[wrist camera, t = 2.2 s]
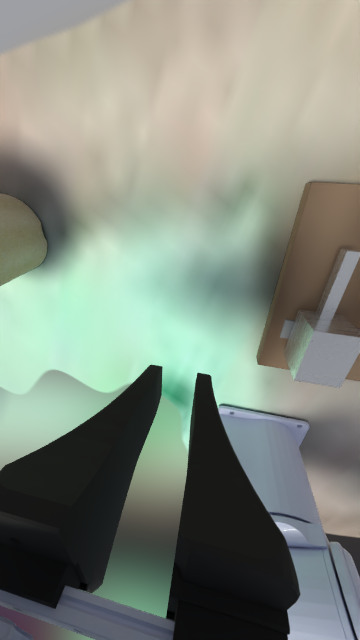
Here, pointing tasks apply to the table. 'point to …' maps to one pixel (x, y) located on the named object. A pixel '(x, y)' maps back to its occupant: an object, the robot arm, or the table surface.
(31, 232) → the flower pot
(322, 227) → the gauge board
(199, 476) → the robot arm
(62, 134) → the table surface
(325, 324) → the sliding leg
